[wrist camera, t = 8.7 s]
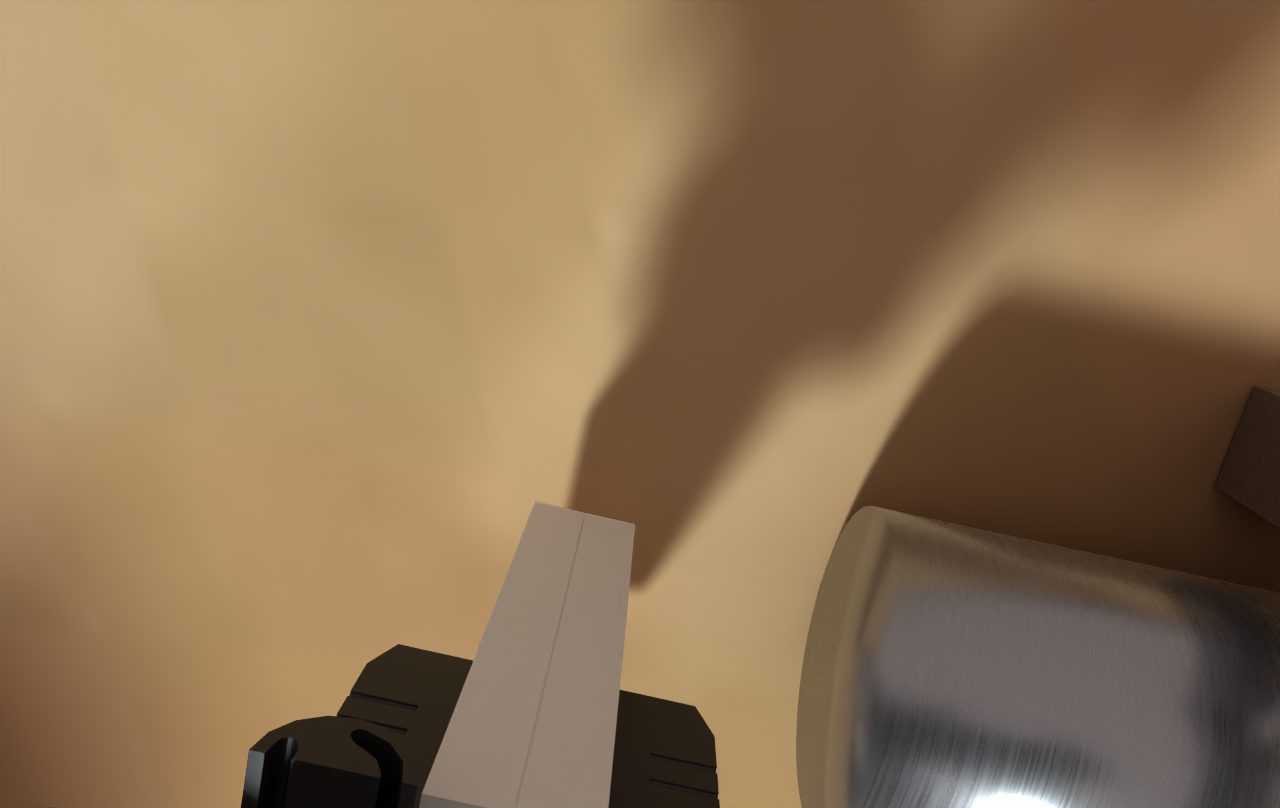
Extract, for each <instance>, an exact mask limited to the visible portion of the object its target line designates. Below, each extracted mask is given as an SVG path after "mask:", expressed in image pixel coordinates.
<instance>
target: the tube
mask: <svg viewBox="0 0 1280 808" xmlns="http://www.w3.org/2000/svg"><path fill="white" fill-rule="evenodd" d="M796 758H797V777H798V786H799V794H800V799H801V805H802V808H1280V593H1278V592H1273V591H1268V590H1264V589H1259V588H1254V587H1250V586H1245V585H1240V584H1236V583H1231V582H1226V581H1222V580H1217V579H1212V578H1208V577H1203V576H1198V575H1194V574H1189V573H1184V572H1180V571H1175V570H1170V569H1165V568H1161V567H1156V566H1151V565H1147V564H1142V563H1137V562H1133V561H1128V560H1123V559H1119V558H1114V557H1109V556H1105V555H1100V554H1095V553H1091V552H1086V551H1081V550H1077V549H1072V548H1067V547H1062V546H1058V545H1053V544H1048V543H1044V542H1039V541H1034V540H1030V539H1025V538H1020V537H1016V536H1011V535H1006V534H1002V533H997V532H992V531H988V530H983V529H978V528H974V527H969V526H964V525H959V524H955V523H950V522H945V521H941V520H936V519H931V518H927V517H922V516H917V515H913V514H908V513H903V512H899V511H894V510H889V509H885V508H880V507H875V506H865V507H863V508H861V509H860V510H858V511H857V512H856V513H855V514H854V515H853V516H852V518H851V519H850V520H849V521H848V523H847V524H846V526H845V527H844V529H843V531H842V533H841V534H840V536H839V538H838V540H837V542H836V544H835V547H834V549H833V551H832V553H831V556H830V559H829V561H828V564H827V567H826V569H825V572H824V575H823V578H822V581H821V585H820V588H819V592H818V595H817V599H816V602H815V606H814V610H813V614H812V619H811V623H810V628H809V632H808V638H807V643H806V648H805V654H804V661H803V667H802V674H801V682H800V691H799V701H798V714H797V737H796Z"/></svg>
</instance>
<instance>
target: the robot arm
mask: <svg viewBox="0 0 1280 808" xmlns="http://www.w3.org/2000/svg"><path fill="white" fill-rule="evenodd" d="M634 534H635V524H633V523H629V522H624V521H620V520H615V519H611V518H606V517H602V516H597V515H593V514H589V513H584V512H580V511H575V510H571V509H566V508H562V507H558V506H553V505H549V504H544V503H540V502H535V503H534V506H533V508H532V511H531V514H530V516H529V519H528V521H527V524H526V527H525V529H524V532H523V534H522V537H521V539H520V542H519V545H518V547H517V550H516V552H515V555H514V557H513V560H512V563H511V565H510V568H509V570H508V573H507V575H506V578H505V581H504V583H503V586H502V588H501V591H500V594H499V596H498V599H497V601H496V604H495V606H494V609H493V612H492V614H491V617H490V619H489V622H488V624H487V627H486V630H485V632H484V635H483V637H482V640H481V642H480V645H479V648H478V650H477V653H476V655H475V658H474V661H472V660H468V659H463V658H459V657H454V656H450V655H445V654H441V653H436V652H431V651H427V650H422V649H418V648H413V647H409V646H404V645H400V644H398V645H396V646H395V647H393V648H391V649H390V650H388V651H386V652H385V653H383V654H382V655H380V656H378V657H377V658H375V659H373V660H372V661H370V662H369V663H367V664H366V666H365V668H364V669H363V671H362V673H361V674H360V676H359V678H358V679H357V681H356V683H355V685H354V686H353V688H352V690H351V692H350V696H347V698H346V700H345V701H344V703H343V705H342V706H341V708H340V710H339V711H338V713H337V717H335V716H324V717H317V718H310V719H302V720H296V721H294V722H291V723H289V724H287V725H284V726H282V727H279V728H277V729H275V730H272V731H270V732H268V733H267V734H266V735H265V736H264V737H263V738H262V739H260V740H259V741H258V742H257V743H256V744H255V745H254V746H253V747H252V748H251V749H249V754H248V761H247V768H246V776H245V783H244V790H243V797H242V804H241V808H720V805H719V799H718V793H719V792H718V778H717V773H716V768H717V765H716V751H715V738H714V735H713V733H712V732H711V730H710V729H709V727H708V726H707V724H706V723H705V721H704V719H703V718H702V716H701V715H700V713H699V712H698V710H697V708H696V707H695V706H691V705H687V704H682V703H678V702H673V701H669V700H664V699H659V698H655V697H650V696H646V695H641V694H637V693H632V692H628V691H623V690H620V680H621V670H622V659H623V649H624V638H625V628H626V618H627V607H628V597H629V586H630V576H631V565H632V555H633V544H634Z"/></svg>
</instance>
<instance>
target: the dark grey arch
mask: <svg viewBox="0 0 1280 808" xmlns="http://www.w3.org/2000/svg"><path fill="white" fill-rule="evenodd" d="M1215 487H1216V488H1218V489H1219V490H1221V491H1223V492H1224V493H1226V494H1227V495H1229V496H1230V497H1232V498H1234V499H1235V500H1237V501H1238V502H1240V503H1241V504H1243V505H1245V506H1246V507H1248V508H1249V509H1251V510H1252V511H1254V512H1256V513H1257V514H1259V515H1260V516H1262V517H1264V518H1265V519H1267V520H1268V521H1270V522H1271V523H1273V524H1275V525H1276V526H1278V527H1279V528H1280V392H1279V391H1275V390H1270V389H1266V388H1261V387H1256V386H1254V388H1253V391H1252V393H1251V396H1250V398H1249V401H1248V403H1247V406H1246V408H1245V411H1244V414H1243V416H1242V419H1241V421H1240V424H1239V426H1238V429H1237V431H1236V434H1235V436H1234V439H1233V441H1232V444H1231V446H1230V449H1229V451H1228V454H1227V456H1226V459H1225V462H1224V464H1223V467H1222V469H1221V472H1220V474H1219V477H1218V479H1217V482H1216V484H1215Z"/></svg>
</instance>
